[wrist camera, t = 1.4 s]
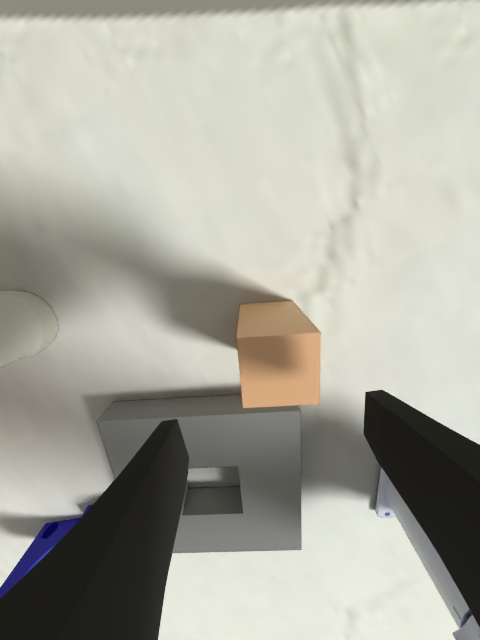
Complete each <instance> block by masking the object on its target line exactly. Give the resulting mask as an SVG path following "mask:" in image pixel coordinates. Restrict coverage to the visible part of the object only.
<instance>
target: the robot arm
mask: <svg viewBox="0 0 480 640" xmlns="http://www.w3.org/2000/svg"><path fill="white" fill-rule="evenodd" d="M364 435H365V437H366V439H367V441H368V443H369V445H370V447H371V449H372V451H373V453H374V455H375V457H376V459H377V461H378V462H379V464H380V466H381V471H380V479H379V486H378V494H377V502H376V510H375V511H376V514H377V516H378V517H397V519H398V521H399V522H400V524H401V526H402V528H403V529H404V531H405V533H406V535H407V537H408V538H409V540H410V542H411V544H412V545H413V547H414V549H415V551H416V553H417V554H418V556H419V558H420V560H421V561H422V563H423V565H424V567H425V569H426V570H427V572H428V574H429V576H430V578H431V579H432V581H433V583H434V585H435V586H436V588H437V590H438V592H439V594H440V595H441V597H442V599H443V601H444V602H445V604H446V606H447V608H448V610H449V611H450V613H451V615H452V617H453V618H454V620H455V622H456V624H457V626H458V627H459V630H457V631H455V632H453V636H454V637H455V639H456V640H480V445H479V444H477V443H475V442H473V441H471V440H469V439H468V438H466V437H464V436H462V435H460V434H458V433H457V432H455V431H453V430H451V429H449V428H448V427H446V426H444V425H442V424H441V423H439V422H437V421H435V420H434V419H432V418H430V417H428V416H427V415H425V414H423V413H421V412H420V411H418V410H416V409H415V408H413V407H411V406H409V405H408V404H406V403H404V402H403V401H401V400H399V399H397V398H396V397H394V396H392V395H390V394H389V393H387V392H385V391H383V390H378V391H371V392H366V395H365V416H364ZM188 465H189V455H188V452H187V449H186V446H185V442H184V439H183V436H182V433H181V429H180V426H179V423H178V420H177V419H172V420H165V421H161V422H160V424H159V425H158V426H157V427H156V429H155V430H154V431H153V433H152V434H151V435H150V436H149V438H148V439H147V440H146V441H145V443H144V444H143V445H142V447H141V448H140V449H139V450H138V452H137V453H136V454H135V456H134V457H133V458H132V459H131V461H130V462H129V463H128V464H127V465H126V467H125V468H124V469H123V470H122V472H121V473H120V474H119V475H118V477H117V478H116V479H115V480H114V481H113V482H112V484H111V485H110V486H109V487H108V488H107V489H106V491H105V492H104V493H103V494H102V495H101V496H100V498H99V499H98V500H97V501H96V502H95V503H94V505H93V506H92V507H91V508H90V509H89V510H88V511H87V512H86V513H85V515H84V516H83V517H82V518H81V519H80V520H79V521H78V522H77V523H76V524H75V525H74V526H73V528H72V529H71V530H70V531H69V532H68V533H67V534H66V535H65V536H64V537H63V538H62V539H61V540H60V541H59V542H58V543H57V544H56V545H55V546H54V547H53V548H52V549H51V550H50V551H49V552H48V553H47V554H46V555H45V556H44V557H43V558H42V559H41V560H40V561H39V562H38V563H37V564H36V565H35V566H34V567H33V568H32V569H31V570H30V571H29V572H28V573H27V574H26V575H25V576H23V577H22V578H21V579H20V580H19V581H18V582H17V583H16V584H15V585H14V586H13V587H12V588H11V589H10V590H9V591H8V592H7V593H6V594H5V595H4V596H3V597H2V598H0V640H158V634H159V627H160V620H161V613H162V606H163V599H164V592H165V586H166V581H167V576H168V570H169V565H170V561H171V556H172V551H173V547H174V542H175V538H176V533H177V528H178V524H179V519H180V514H181V510H182V505H183V500H184V495H185V490H186V484H187V475H188Z"/></svg>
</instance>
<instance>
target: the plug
mask: <svg viewBox="0 0 480 640" xmlns="http://www.w3.org/2000/svg"><path fill="white" fill-rule="evenodd" d="M237 349H238V360H239V370H240V381H241V391H242V402H243V408H255V407H274V406H292V405H311V404H319V398H320V352H321V332H320V331H319V330H318V329H317V327H316V326H315V325H314V324H313V323H312V322H311V321H310V320H309V318H308V317H307V316H306V315H305V314H304V313H303V312H302V311H301V310H300V308H299V307H298V306H297V305H296V304H295V303H294V302H293V301H292V300H291V301H278V302H265V303H251V304H240V309H239V319H238V328H237Z"/></svg>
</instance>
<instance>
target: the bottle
mask: <svg viewBox="0 0 480 640" xmlns="http://www.w3.org/2000/svg"><path fill="white" fill-rule="evenodd" d="M58 330H59V328H58V320H57V317H56V315H55V313H54V311H53V309H52V308H51V307H50V306H49V305H48V304H47V303H46V302H45V301H44V300H43V299H42V298H40V297H38V296H36V295H34V294H32V293H28V292H20V291H1V292H0V368H1V367H3V366H5V365H7V364H9V363H11V362H13V361H15V360H17V359H24V358H27V357H31V356H33V355H35V354H37V353H39V352H41V351H42V350H43V349H45V348H46V347H47V346H48V345H49V344H50V343H51V342H53V341H54V340H55V338H56V335H57V333H58Z"/></svg>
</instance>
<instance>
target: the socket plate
mask: <svg viewBox="0 0 480 640" xmlns="http://www.w3.org/2000/svg"><path fill="white" fill-rule="evenodd" d="M172 419H177V420H178V423H179V426H180V429H181V433H182V436H183V439H184V442H185V446H186V449H187V452H188V455H189V465H188V468H208V467H231V466H238V470H239V479H240V486H239V487H213V488H189V486H188V481H187V484H186V490H185V495H184V500H183V505H182V510H181V514H180V519H179V524H178V528H177V533H176V538H175V542H174V547H173V551H172V553H197V552H238V551H278V550H301V411H300V408H299V405H292V406H274V407H255V408H243V402H242V394H237V395H220V396H202V397H185V398H167V399H149V400H132V401H114V402H113V403H112V404H111V405H110V406H109V408H108V409H107V410H106V411H105V412H104V413H103V415H102V416H101V417H100V418H99V419H98V420H97V421H96V422H97V425H98V428H99V431H100V434H101V437H102V440H103V444H104V447H105V450H106V453H107V456H108V459H109V462H110V465H111V468H112V471H113V474H114V478H115V479H116V478H117V477H118V475H119V474H120V473H121V472H122V470H123V469H124V468H125V467H126V465H127V464H128V463H129V462H130V461H131V459H132V458H133V457H134V456H135V454H136V453H137V452H138V450H139V449H140V448H141V447H142V445H143V444H144V443H145V441H146V440H147V439H148V438H149V436H150V435H151V434H152V433H153V431H154V430H155V429H156V427H157V426H158V425H159V424H160V422H161V421H165V420H172Z"/></svg>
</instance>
